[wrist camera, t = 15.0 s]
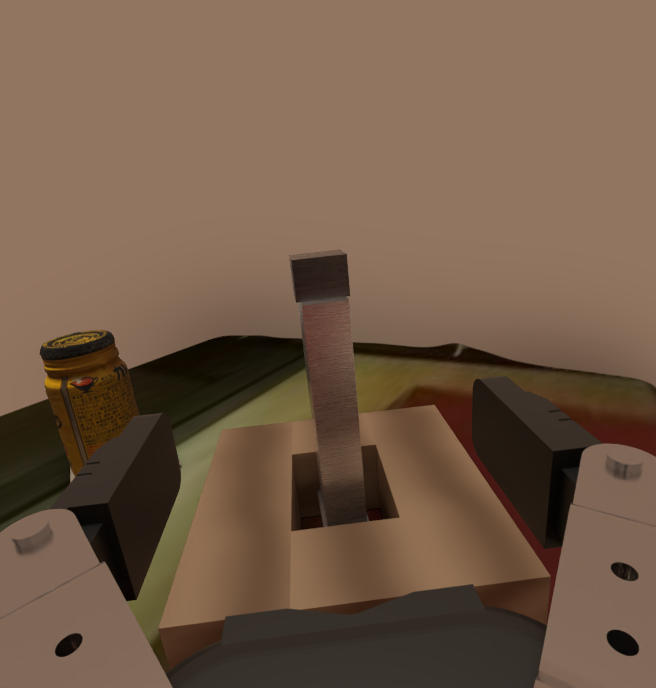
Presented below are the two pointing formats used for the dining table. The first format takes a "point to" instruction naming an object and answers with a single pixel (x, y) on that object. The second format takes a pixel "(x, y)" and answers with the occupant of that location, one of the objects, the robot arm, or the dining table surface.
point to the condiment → (87, 392)
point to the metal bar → (331, 383)
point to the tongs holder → (344, 530)
